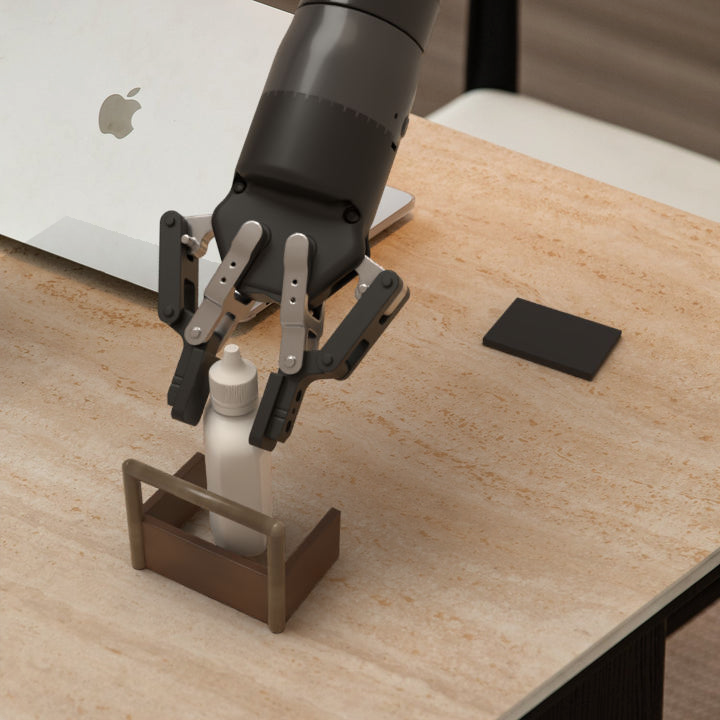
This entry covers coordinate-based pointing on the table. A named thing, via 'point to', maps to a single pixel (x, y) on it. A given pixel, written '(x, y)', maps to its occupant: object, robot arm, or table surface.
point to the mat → (553, 338)
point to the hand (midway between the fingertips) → (222, 433)
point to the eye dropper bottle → (236, 451)
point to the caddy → (213, 563)
